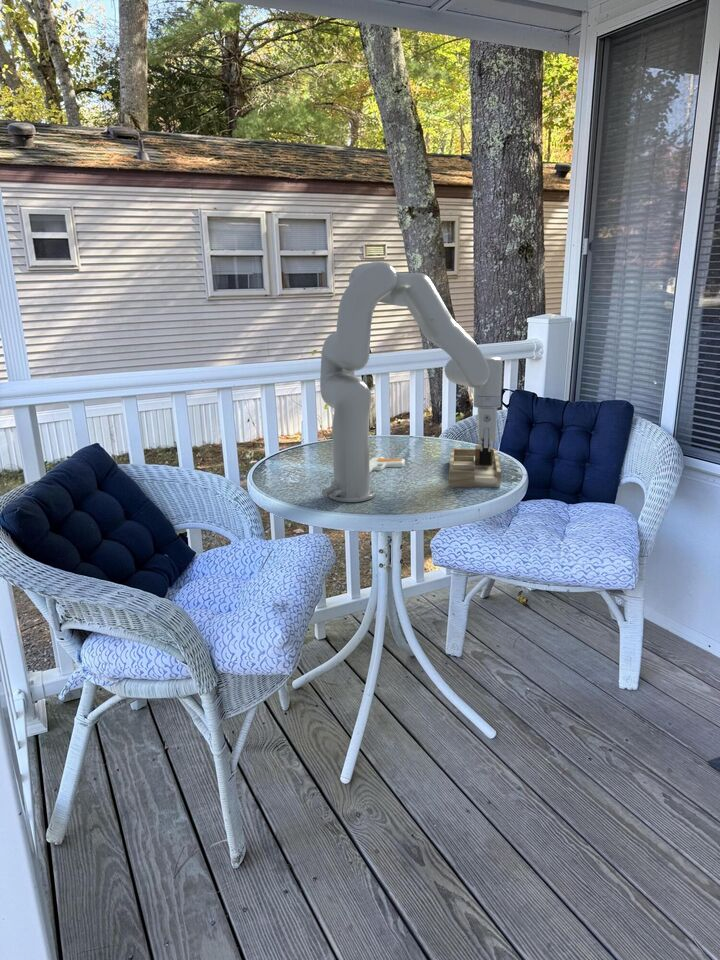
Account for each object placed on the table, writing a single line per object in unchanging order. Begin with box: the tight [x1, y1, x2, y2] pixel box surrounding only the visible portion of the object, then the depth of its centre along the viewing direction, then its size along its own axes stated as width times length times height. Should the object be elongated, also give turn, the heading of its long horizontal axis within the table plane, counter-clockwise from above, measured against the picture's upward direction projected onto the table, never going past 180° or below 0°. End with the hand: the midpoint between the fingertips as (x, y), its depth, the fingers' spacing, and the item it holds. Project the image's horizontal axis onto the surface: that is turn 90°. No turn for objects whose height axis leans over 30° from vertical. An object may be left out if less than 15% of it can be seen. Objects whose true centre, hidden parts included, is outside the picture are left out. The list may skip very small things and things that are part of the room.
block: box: [474, 444, 494, 466], centre depth 188 cm, size 5×5×5 cm
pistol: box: [369, 456, 406, 473], centre depth 193 cm, size 2×20×11 cm
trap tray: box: [448, 448, 502, 488], centre depth 187 cm, size 26×14×4 cm, turn 171°
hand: (484, 463), depth 184 cm, fingers closed
